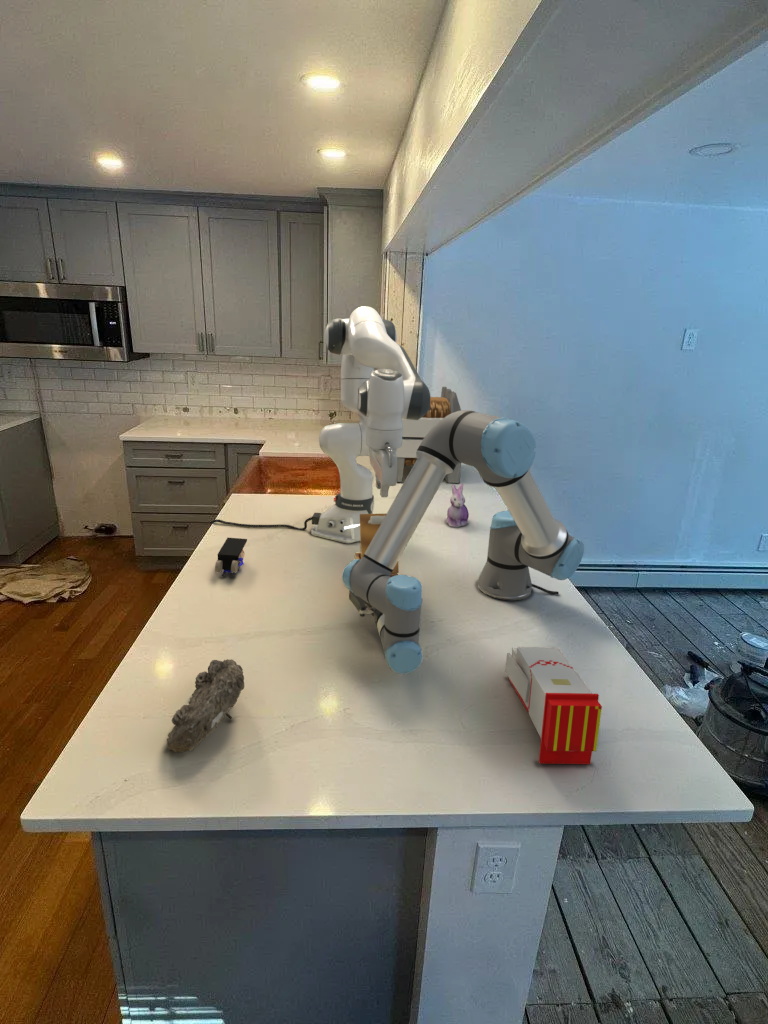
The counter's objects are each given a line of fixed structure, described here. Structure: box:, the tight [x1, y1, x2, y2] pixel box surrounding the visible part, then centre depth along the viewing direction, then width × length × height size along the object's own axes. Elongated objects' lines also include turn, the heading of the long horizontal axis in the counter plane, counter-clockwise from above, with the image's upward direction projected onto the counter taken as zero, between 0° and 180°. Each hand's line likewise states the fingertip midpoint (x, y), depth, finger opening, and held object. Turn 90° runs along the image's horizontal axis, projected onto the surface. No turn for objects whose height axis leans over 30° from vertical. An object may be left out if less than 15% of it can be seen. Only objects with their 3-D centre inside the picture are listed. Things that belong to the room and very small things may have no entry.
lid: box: [359, 513, 400, 574], centre depth 144 cm, size 16×10×9 cm
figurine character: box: [214, 537, 248, 578], centre depth 166 cm, size 7×8×15 cm
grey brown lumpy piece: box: [166, 658, 245, 754], centre depth 106 cm, size 22×10×15 cm
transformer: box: [396, 386, 462, 484], centre depth 268 cm, size 34×33×41 cm
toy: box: [504, 646, 603, 765], centre depth 112 cm, size 12×13×30 cm
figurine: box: [446, 483, 470, 528], centre depth 210 cm, size 9×10×15 cm
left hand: (381, 492), depth 143 cm, fingers open, 5 cm apart
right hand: (377, 579), depth 152 cm, fingers closed on chest, 10 cm apart
